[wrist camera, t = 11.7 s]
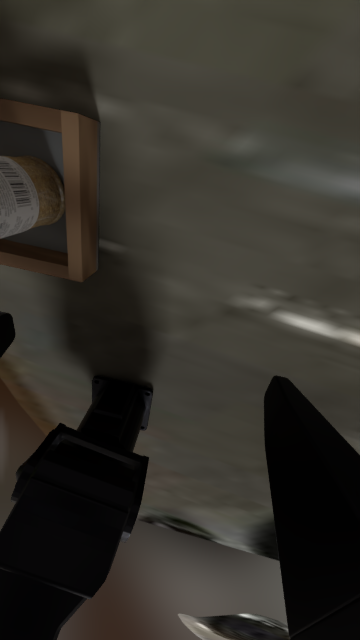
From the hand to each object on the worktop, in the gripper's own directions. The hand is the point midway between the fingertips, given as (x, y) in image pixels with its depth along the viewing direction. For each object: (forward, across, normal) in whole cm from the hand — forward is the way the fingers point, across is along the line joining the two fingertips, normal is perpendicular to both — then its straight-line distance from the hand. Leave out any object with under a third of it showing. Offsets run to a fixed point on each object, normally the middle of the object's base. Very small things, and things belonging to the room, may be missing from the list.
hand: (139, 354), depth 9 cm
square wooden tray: (+13, +12, -2) cm, 18 cm away
